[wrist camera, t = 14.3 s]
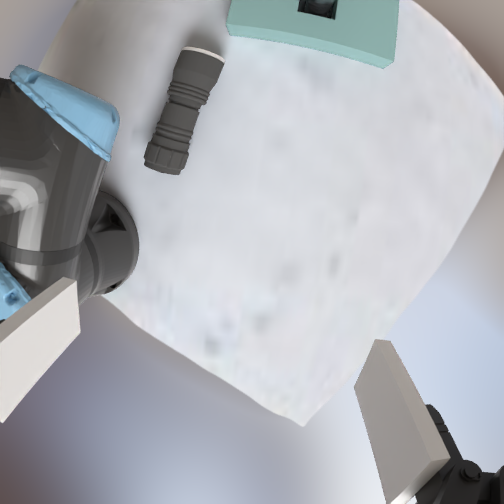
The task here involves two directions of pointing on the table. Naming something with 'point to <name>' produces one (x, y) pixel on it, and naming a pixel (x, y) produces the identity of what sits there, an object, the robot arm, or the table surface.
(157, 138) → the flashlight
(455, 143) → the table surface
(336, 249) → the table surface
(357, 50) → the hole block
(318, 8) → the peg
